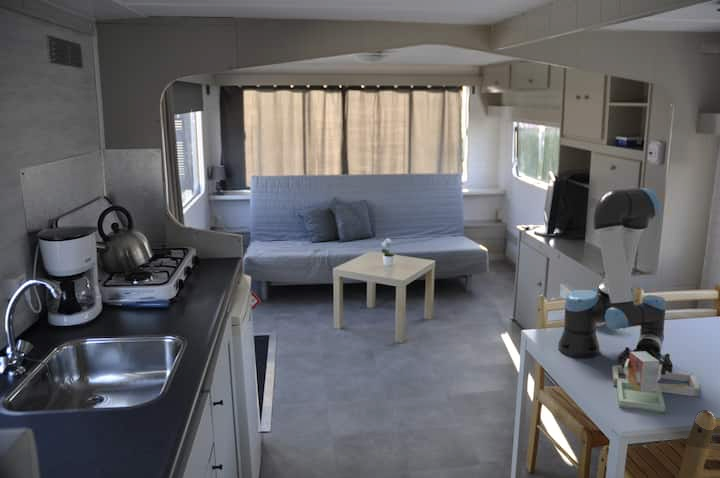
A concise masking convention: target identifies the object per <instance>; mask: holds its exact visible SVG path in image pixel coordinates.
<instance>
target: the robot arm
mask: <svg viewBox="0 0 720 478" xmlns="http://www.w3.org/2000/svg"><path fill="white" fill-rule="evenodd" d="M657 196H658V195H657V194H656V193H655V192H654V191H653V190H652V189H650V188H646V187H634V188H625V189H612V190H609V191H607V192H606V193H604V194H602V195H601V196H600V197H599V199H598V200H597V203H596V205H595V207H594V211H593V219H592V220H593V228H594V232H595V233H597V235H598V240H599V245H600V250H601V255H602V256H601V257H602V262H603V263H602V264H603V267H604V268H603V269H604V274H605V276H604V281H603V282H601V283H600V284H599V285H598V289H597V292H596V291H594V290H591V289H575V290H572V291H570V292H568V293H567V295H566V297H565V302H564V323H563V330H562V333H561V335H560V339H559V341H558V344H557V345H558V347H557V348H558V351H559V352H560V353H561V354H564V355H566V356H569V357H573V358H580V359H590V358H595V357H597V356H598V355H599V354H600V344H599V340H598V336H597V333H596V332H597V326H596V324H598V323H604V322H605V323H606V324H607V325H608V326H609V328H611V329H613V330H618V329H619V330H620V329H627V328H632V327H637V326H640V332H639V339H638V342H637V344H636V347H635V348H634V349H630V347H626V346H625V349H624V350H623V351H622V352H621V353H619V354H618V355H617V361H616V363H617V364H619V365H620V364H621V366H622V367H623V368H624V374H623V375H625V374H627V371H628V368H629V359H630V352H641V351H646V352H647V353H649V354H650V355H651V356H653V357H654V358H656V359H657V360H659V369H658V377H657V380H658V381H661V378H660V377H661V374H662V375H665V372H666V371H668V372H670V373H672V372H673V362H672V359H670V356H671V354H670V353H666V354H661V351H662V347H663V342H664V339H665V334H664V332H665V320H666V319H665V318H666V310H667V309H666V308H667V304H666V299H665V298H664V297H662V296H659V295H653V294H648V295H644V296H643V297H642V300H641V302H640V303H636V304H635V301H634V297H633V292H632V287H631V282H630V280H631V275H632V272H633V271H632V270H633V269H634V268H633V267H634V263H635V259H636V256H637V252H638V248H639V244H640V239H641V236H642V232H643V231H644V230H647V229H648V226H649V223H650V221H651V220H653V219H655V218H656V217H657V216H658V215H659V212H660V210H661V209H660V207H661V205H660V200H659V198H658V197H657Z"/></svg>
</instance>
